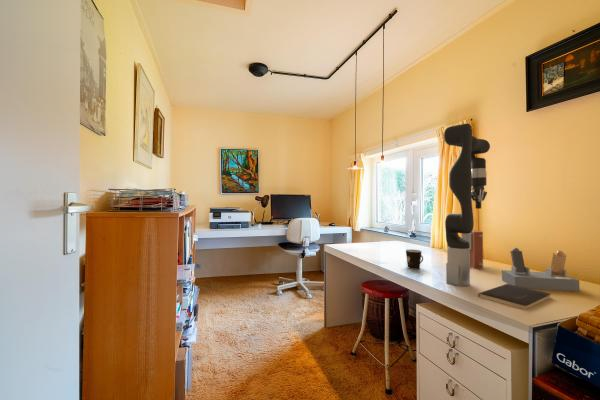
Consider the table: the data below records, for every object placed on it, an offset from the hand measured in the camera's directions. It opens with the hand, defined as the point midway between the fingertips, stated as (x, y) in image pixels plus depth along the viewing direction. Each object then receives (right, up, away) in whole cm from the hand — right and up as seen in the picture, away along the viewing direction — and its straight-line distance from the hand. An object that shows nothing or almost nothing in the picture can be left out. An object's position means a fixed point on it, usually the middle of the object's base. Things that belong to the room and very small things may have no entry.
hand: (478, 208), depth 151 cm
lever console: (+11, -35, -25) cm, 44 cm away
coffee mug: (-32, -35, +8) cm, 48 cm away
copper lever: (+18, -30, -26) cm, 44 cm away
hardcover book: (-11, -36, -40) cm, 55 cm away
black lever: (+4, -30, -23) cm, 38 cm away
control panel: (+5, -35, +13) cm, 38 cm away
